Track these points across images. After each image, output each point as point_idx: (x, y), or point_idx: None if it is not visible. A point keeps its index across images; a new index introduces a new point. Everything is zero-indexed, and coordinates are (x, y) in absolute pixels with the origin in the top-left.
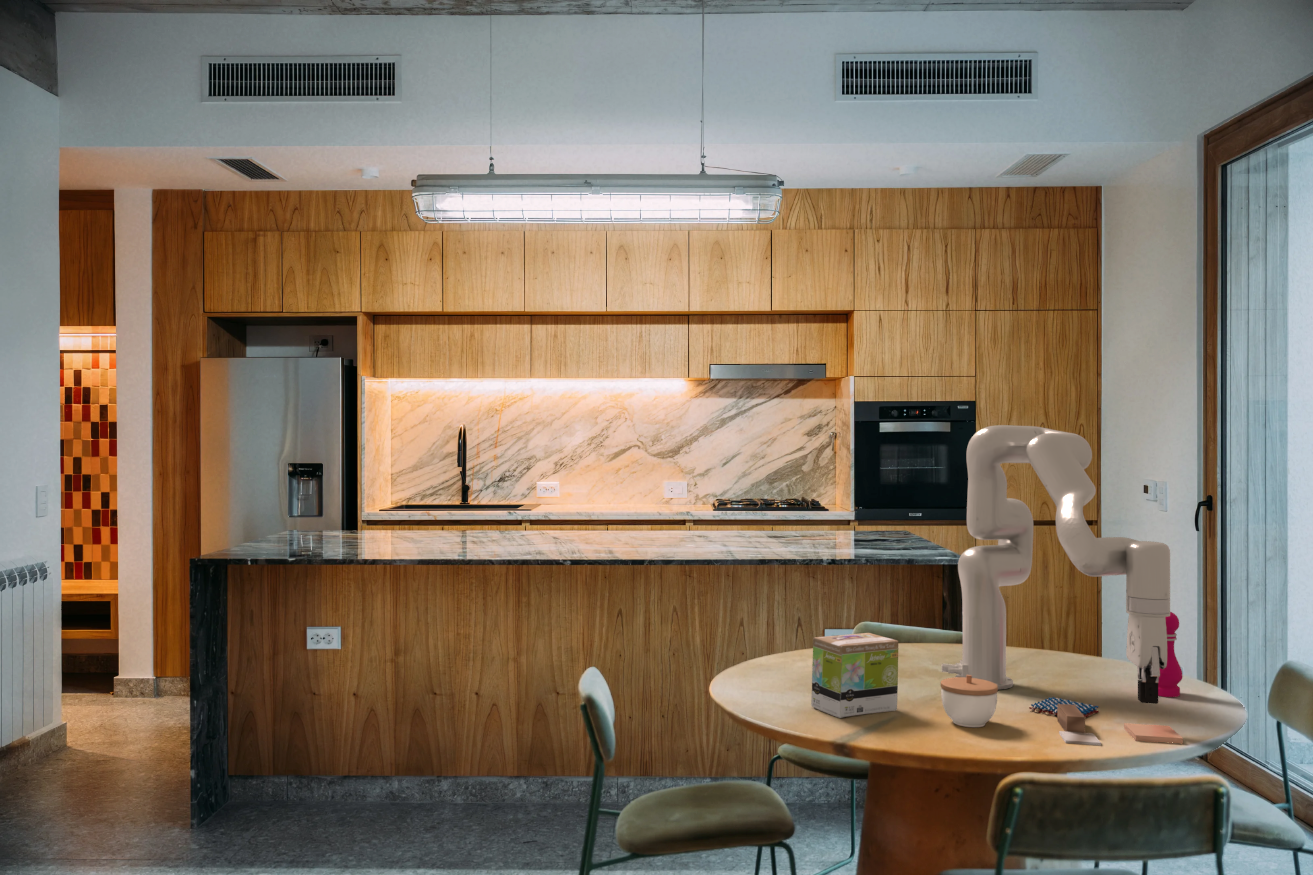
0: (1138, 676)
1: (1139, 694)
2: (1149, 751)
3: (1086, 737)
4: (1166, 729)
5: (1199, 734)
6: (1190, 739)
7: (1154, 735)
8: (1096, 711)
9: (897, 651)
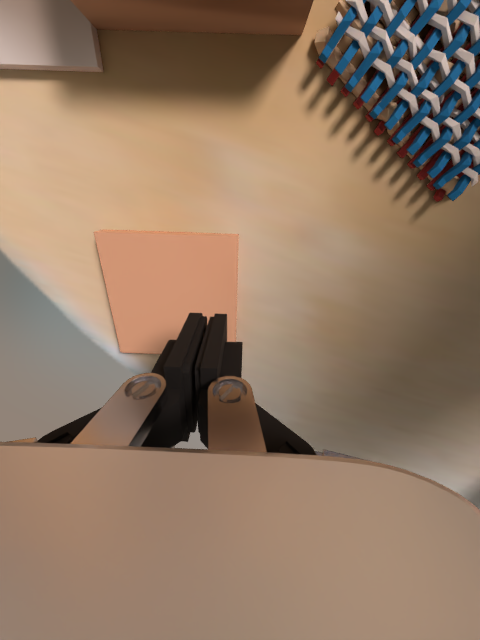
0: (238, 389)
1: (194, 325)
2: (4, 237)
3: (12, 5)
4: None
5: None
6: None
7: (117, 290)
8: (428, 186)
9: None
